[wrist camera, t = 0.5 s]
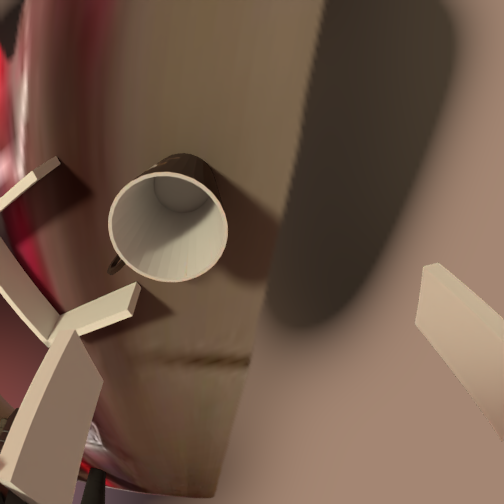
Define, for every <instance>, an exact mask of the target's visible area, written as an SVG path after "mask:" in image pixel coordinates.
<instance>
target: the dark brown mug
mask: <svg viewBox="0 0 504 504" xmlns="http://www.w3.org/2000/svg"><path fill="white" fill-rule="evenodd" d="M108 229H109V235H110V239H111V242H112V244H113V247H114V249H115V250H116V252H117V256H116V257H115V258H114V260H113V261H112V263H111V264H110V266H109V268H108V271H107V273H109V274H110V275H113V274H115V273H116V272H118V271H119V270H120V269H121V268H122V267H123V266H124V265H125V264H127V265H128V266H129V267H130V268H132V269H133V270H134V271H135V272H137V273H139V274H141V275H143V276H145V277H147V278H150V279H153V280H157V281H163V282H181V281H187V280H190V279H193V278H196V277H198V276H200V275H202V274H203V273H205V272H207V271H208V270H209V269H210V268H211V267H213V266H214V265H215V264H216V262H217V261H218V260H219V258H220V257H221V255H222V253H223V251H224V249H225V247H226V242H227V238H228V224H227V219H226V215H225V211H224V208H223V205H222V201H221V198H220V195H219V191H218V188H217V185H216V181H215V178H214V175H213V172H212V170H211V169H210V167H209V166H208V164H206V163H205V162H204V161H203V160H202V159H200V158H198V157H197V156H194V155H191V154H185V153H183V154H175V155H171V156H169V157H167V158H165V159H163V160H162V161H160V162H159V163H157V164H156V165H154V166H153V167H151V168H150V169H148V170H147V171H145V172H144V173H142V174H141V175H139V176H138V177H137V178H135V179H134V180H132V181H131V182H130V183H128V184H127V185H126V186H125V187H123V188H122V190H121V191H120V192H119V193H118V195H117V196H116V197H115V199H114V201H113V203H112V206H111V209H110V213H109V217H108ZM120 258H121V259H122V260H121V261H120V262H119V263H118V261H119V260H120ZM117 263H118V264H117ZM116 264H117V265H116Z"/></svg>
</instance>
